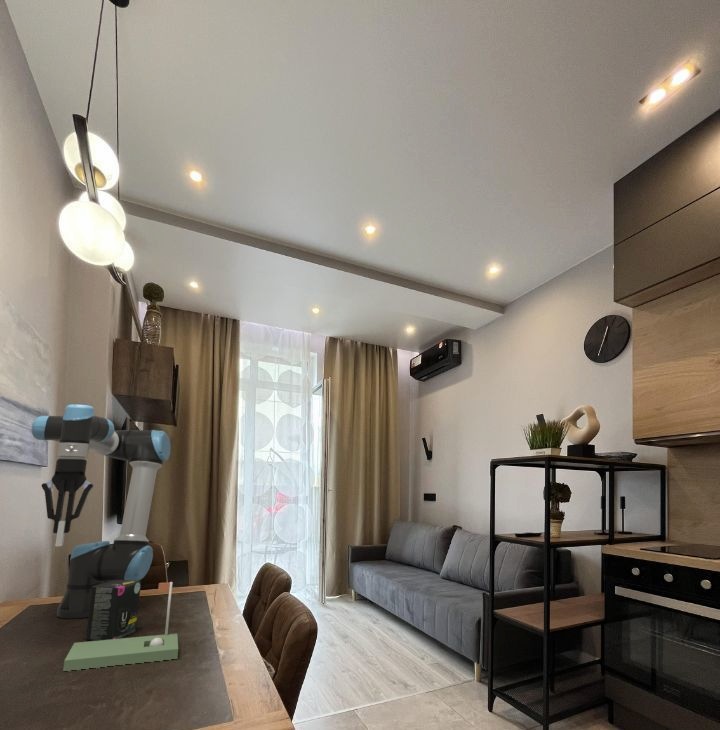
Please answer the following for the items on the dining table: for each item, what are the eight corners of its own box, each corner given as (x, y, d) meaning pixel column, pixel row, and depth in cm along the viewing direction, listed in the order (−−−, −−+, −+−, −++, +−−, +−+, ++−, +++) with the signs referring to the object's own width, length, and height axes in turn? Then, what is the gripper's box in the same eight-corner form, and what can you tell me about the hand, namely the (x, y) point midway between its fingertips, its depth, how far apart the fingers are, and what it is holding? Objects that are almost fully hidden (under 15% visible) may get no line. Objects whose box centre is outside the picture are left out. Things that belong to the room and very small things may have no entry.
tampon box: (112, 643, 138) (118, 587, 141) (84, 640, 140) (91, 585, 143) (136, 631, 148) (142, 580, 152) (110, 629, 150) (116, 578, 154)
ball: (158, 633, 133) (166, 643, 133) (146, 643, 131) (154, 653, 132) (157, 636, 130) (165, 647, 130) (146, 647, 128) (154, 657, 128)
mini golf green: (72, 653, 129) (82, 586, 133) (176, 643, 139) (182, 581, 142) (62, 672, 117) (73, 597, 121) (177, 659, 126) (183, 591, 130)
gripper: (43, 457, 133) (28, 548, 128) (96, 458, 138) (83, 546, 132) (48, 458, 140) (35, 544, 135) (99, 459, 145) (87, 543, 139)
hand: (59, 545), depth 133 cm, fingers closed
